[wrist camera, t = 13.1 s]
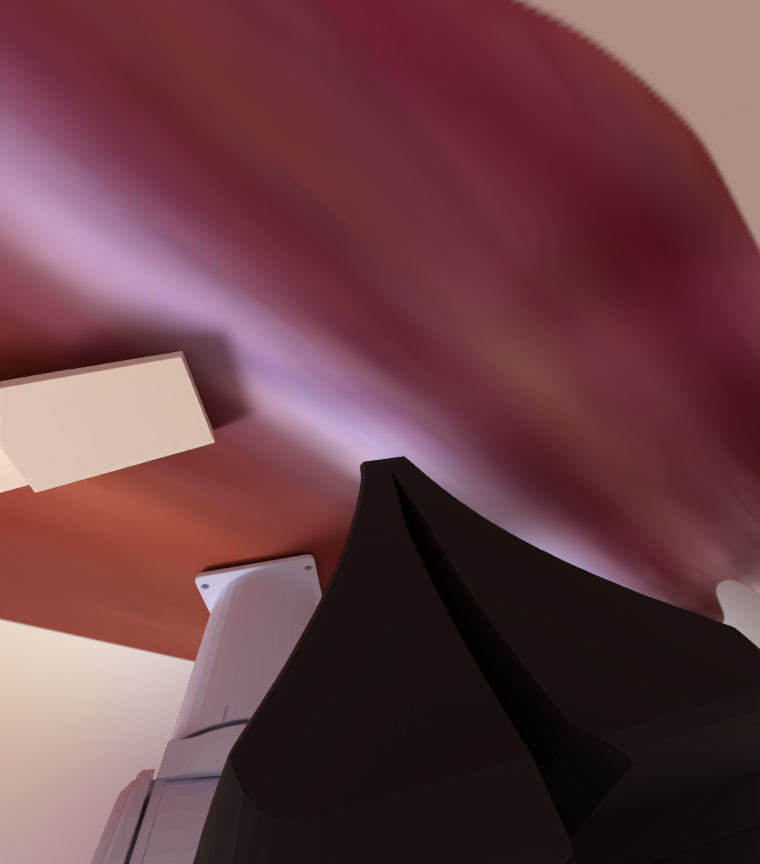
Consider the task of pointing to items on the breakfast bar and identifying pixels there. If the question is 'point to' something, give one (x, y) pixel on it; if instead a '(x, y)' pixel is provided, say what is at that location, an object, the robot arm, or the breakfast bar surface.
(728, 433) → the breakfast bar surface
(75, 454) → the domino
